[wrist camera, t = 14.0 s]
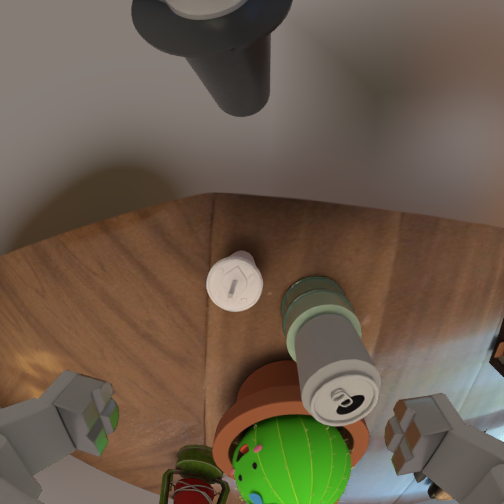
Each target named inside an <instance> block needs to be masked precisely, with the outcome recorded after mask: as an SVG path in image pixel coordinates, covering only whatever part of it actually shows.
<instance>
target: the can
mask: <svg viewBox="0 0 504 504" xmlns="http://www.w3.org/2000/svg"><path fill="white" fill-rule="evenodd" d="M294 347H295V354H296V361H297V369H298V376H299V384H300V391H301V399H302V402H303V406H304V408H305V409H306V410H307V411H308V412H309V414H311V415H312V416H313V417H314V418H315V419H316V420H317V421H318V422H320V423H322V424H324V425H329V426H345V425H348V424H352V423H355V422H357V421H358V420H360V419H362V418H364V417H365V416H366V415H367V414H369V413H370V412H371V411H372V409H373V408H374V407H375V405H376V404H377V401H378V398H379V390H380V387H381V377H380V374H379V372H378V371H377V369H376V367H375V365H374V363H373V361H372V359H371V357H370V355H369V353H368V352H367V350H366V348H365V346H364V344H363V342H362V340H361V339H360V337H359V335H358V333H357V331H356V329H355V328H354V326H353V324H352V323H351V322H350V321H349V320H347V319H346V318H345V317H342V316H339V315H336V314H324V315H321V316H317V317H314V318H313V319H311V320H309V321H308V322H306V323H305V324H304V325H303V326H302V328H301V329H300V330H299V332H298V334H297V336H296V338H295V346H294Z"/></svg>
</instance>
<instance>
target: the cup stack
mask: <svg viewBox="0 0 504 504" xmlns="http://www.w3.org/2000/svg"><path fill="white" fill-rule="evenodd" d="M281 313H282V318H283V324H282V326H283V332H284V336H285V338H286V343H287V349H288V352H289V354H290V356H291V357H292V359H293V360H294V361H295V362H296V363H297V361H296V354H295V347H294V346H295V338H296V336H297V334H298V332H299V330H300V329H301V328H302V326H303V325H304V324H305V323H306V322H308V321H309V320H311V319H313V318H314V317H317V316H321V315H324V314H336V315H339V316H342V317H345V318H346V319H347V320H349V321H350V322H351V323H352V324H353V326H354V328H355V329H356V331H357V333H358V335H359V337H360V339H361V333H362V331H361V326H360V323H359V320H358V319H357V317H356V315H355V312H354V309H353V306H352V304H351V303H350V301H349V300H348V299H347V298H346V297H345V294H344V292H343V290H342V289H341V288H340V286H339V285H338V284H337V283H336V282H334V281H333V280H331V279H329V278H327V277H323V276H309V277H305V278H302V279H300V280H298V281H297V282H295V283H294V284H293V285H291V286H290V287H289V289H288V290H287V291H286V293H285V295H284V297H283V299H282V304H281Z"/></svg>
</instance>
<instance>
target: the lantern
mask: <svg viewBox="0 0 504 504" xmlns="http://www.w3.org/2000/svg"><path fill="white" fill-rule="evenodd" d="M178 457H179V458H178V461H177V464H176V467H175V468H176V469H168V470H167V471H166V472H165V473H164V474H163V478H162V486H161V494H160V502H159V504H168V495H169V491H171V489H172V485H173V484H172V483H175V482H177V484H176V485H175V486H174V485H173V486H174V493H173V494H172V495H171V497H172V498H173V500H174V504H212V501H213V498H214V496H216V495H217V494H220V496H219V499H218V501H217V504H225V503H226V500H227V497H228V495H229V492H230V488H229V485H228V483H227V482H225V481H223V480H221V479H222V476H223V471H222V470H221V469H220V468H219V467H218V466H217V465H216V463H215V461H214V458H213V454H212V448H210V447H207V446H202V445H187V446H185V447H183V448H181V449H180V451H179V453H178ZM173 474H179V475H180V476H181V477H183V478H184V479H181V480H179V481H175V482H172V480H173V476H172V475H173ZM170 481H171V482H170ZM215 483H218V484H220V485H221V487H222V491H221V493H220V492H219V493H217V492H216V491H214V490H213V488H212V487H211V485H209V484H215ZM170 484H171V486H170ZM214 492H215V493H216V494H215V495H214ZM173 495H174V497H173Z"/></svg>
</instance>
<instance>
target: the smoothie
mask: <svg viewBox="0 0 504 504" xmlns="http://www.w3.org/2000/svg"><path fill="white" fill-rule="evenodd" d="M262 289H263V280H262V275H261V273H260V271H259V269H258V268H257V267H256V265H255V262H254V259H253V257H252V255H251V254H249V253H248V252H246V251H237V252H235V253H233V254H232V255H230V256H229V257H226V258H224V259H221V260H219V261H218V262H217V263H216V264H214V265H213V267H212V268H211V270H210V271H209V274H208V277H207V291H208V294H209V296H210V298H211V299H212V301H213V302H214V303H215V304H216V305H217V306H219V307H220V308H222V309H225V310H228V311H233V312H238V311H243V310H246V309H248V308H250V307H252V306H253V305H254V304H255V303H256V302H257V301H258V299H259V298H260V295H261V292H262Z"/></svg>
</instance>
